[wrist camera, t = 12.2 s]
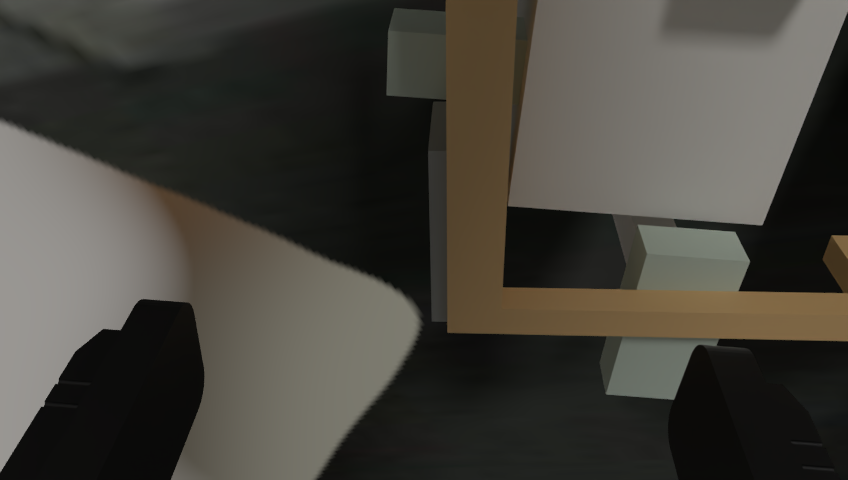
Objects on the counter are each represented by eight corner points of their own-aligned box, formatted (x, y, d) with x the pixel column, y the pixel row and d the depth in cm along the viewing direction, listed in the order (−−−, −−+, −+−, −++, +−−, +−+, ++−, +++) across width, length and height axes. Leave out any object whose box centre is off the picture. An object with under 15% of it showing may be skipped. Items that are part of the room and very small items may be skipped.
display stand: (427, -344, 25) (385, -398, 13) (860, -315, 25) (1224, -343, 13) (405, 159, 37) (371, 376, 25) (700, 181, 37) (812, 410, 25)
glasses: (427, -326, 16) (415, -336, 13) (1098, -347, 15) (1265, -364, 12) (436, 253, 25) (431, 332, 22) (852, 260, 25) (910, 342, 21)
